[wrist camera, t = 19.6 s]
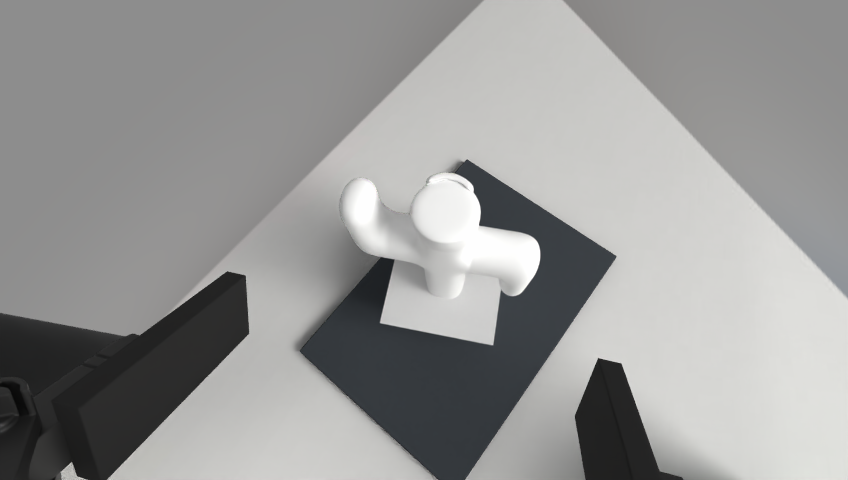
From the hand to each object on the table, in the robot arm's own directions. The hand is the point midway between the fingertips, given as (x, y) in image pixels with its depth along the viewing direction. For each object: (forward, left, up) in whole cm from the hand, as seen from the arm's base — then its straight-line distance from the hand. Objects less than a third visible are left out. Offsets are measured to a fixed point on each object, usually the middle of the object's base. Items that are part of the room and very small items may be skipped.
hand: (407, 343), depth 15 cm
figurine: (+2, +5, -14) cm, 16 cm away
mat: (+3, +4, -15) cm, 16 cm away
